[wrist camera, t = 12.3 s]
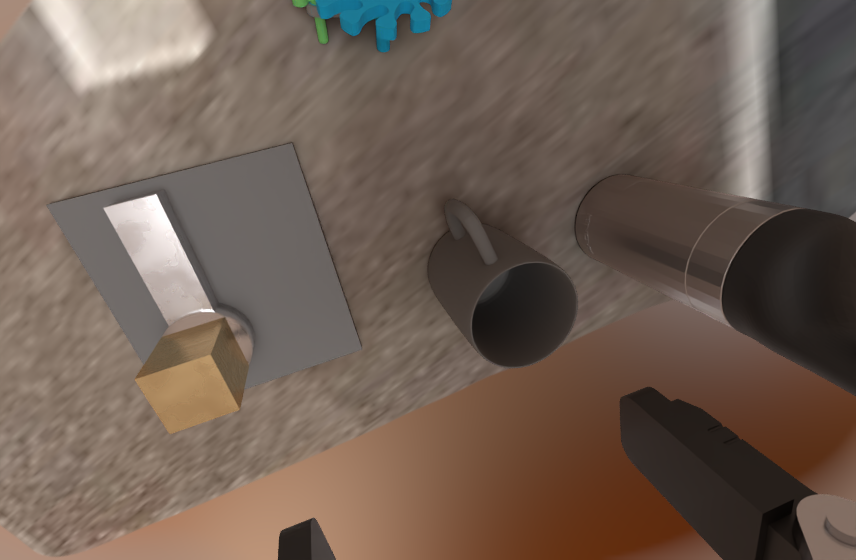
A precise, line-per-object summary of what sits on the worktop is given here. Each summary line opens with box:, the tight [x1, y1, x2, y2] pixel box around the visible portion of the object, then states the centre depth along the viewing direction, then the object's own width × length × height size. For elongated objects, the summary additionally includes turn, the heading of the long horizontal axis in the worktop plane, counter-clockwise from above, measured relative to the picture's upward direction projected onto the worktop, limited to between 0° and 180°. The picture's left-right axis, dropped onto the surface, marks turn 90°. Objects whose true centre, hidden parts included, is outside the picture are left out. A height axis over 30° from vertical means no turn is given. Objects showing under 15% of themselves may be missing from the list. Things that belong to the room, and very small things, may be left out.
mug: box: [428, 199, 578, 368], centre depth 36 cm, size 14×9×12 cm
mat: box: [46, 143, 362, 389], centre depth 37 cm, size 18×20×1 cm
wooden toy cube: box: [135, 317, 249, 434], centre depth 33 cm, size 5×5×6 cm
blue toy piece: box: [292, 0, 452, 52], centre depth 30 cm, size 11×6×10 cm
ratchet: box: [104, 190, 255, 364], centre depth 33 cm, size 7×16×6 cm, turn 13°
